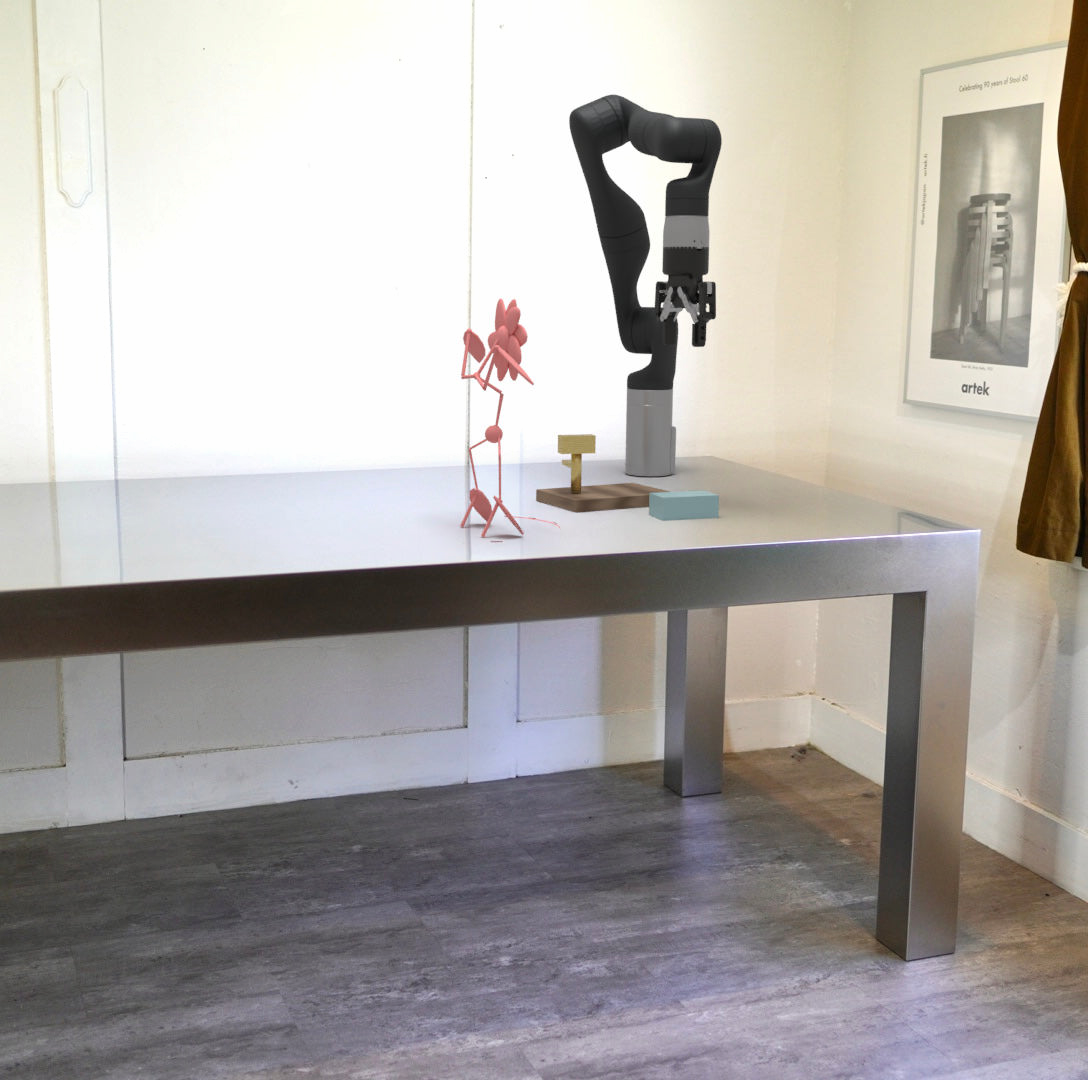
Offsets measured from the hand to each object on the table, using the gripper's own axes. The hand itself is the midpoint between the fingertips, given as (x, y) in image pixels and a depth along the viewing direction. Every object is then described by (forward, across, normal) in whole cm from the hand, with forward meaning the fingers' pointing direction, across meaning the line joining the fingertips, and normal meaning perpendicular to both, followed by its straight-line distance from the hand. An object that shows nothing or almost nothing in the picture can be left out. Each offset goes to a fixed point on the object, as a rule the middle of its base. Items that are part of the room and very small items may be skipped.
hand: (683, 345), depth 221 cm
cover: (+28, +6, -3) cm, 29 cm away
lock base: (+28, -12, -7) cm, 31 cm away
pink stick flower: (+28, +5, -34) cm, 44 cm away
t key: (+25, -15, -13) cm, 32 cm away
